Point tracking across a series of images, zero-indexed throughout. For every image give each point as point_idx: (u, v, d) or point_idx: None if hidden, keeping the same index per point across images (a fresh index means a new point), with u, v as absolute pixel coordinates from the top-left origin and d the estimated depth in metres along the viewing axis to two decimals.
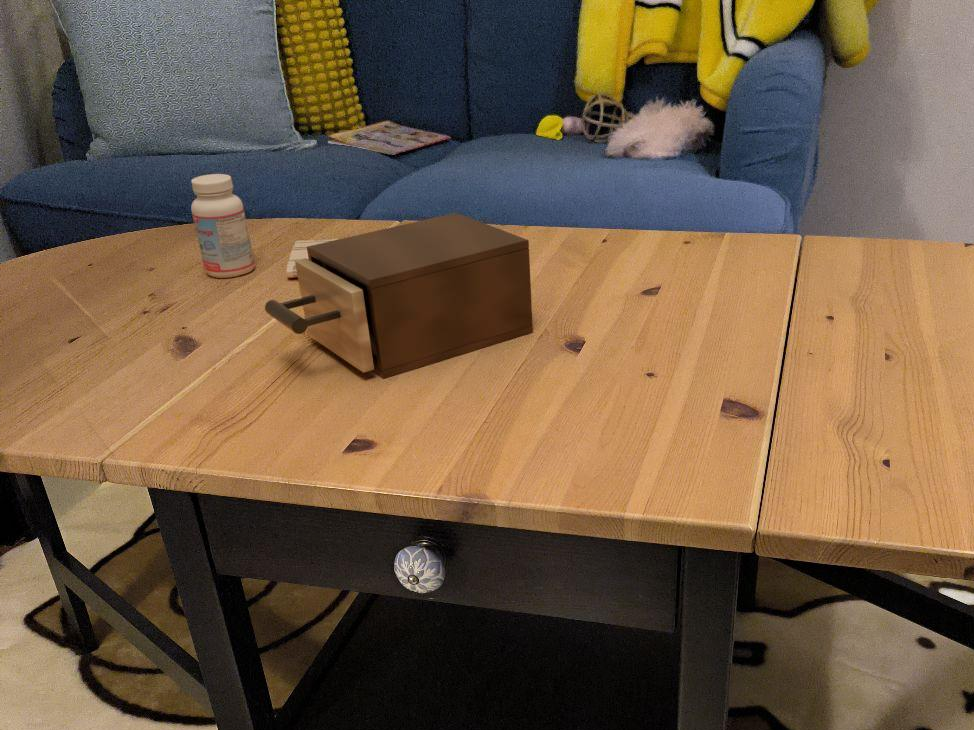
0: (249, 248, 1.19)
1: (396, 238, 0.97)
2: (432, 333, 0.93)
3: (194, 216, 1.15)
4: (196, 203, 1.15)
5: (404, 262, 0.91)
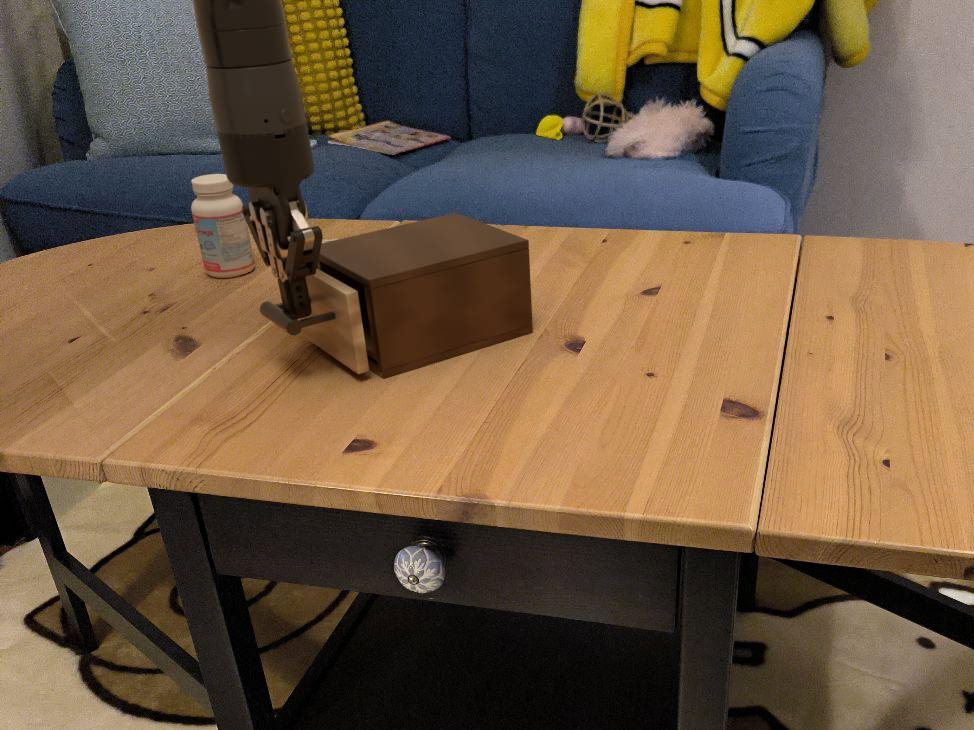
0: (249, 248, 1.19)
1: (396, 238, 0.97)
2: (432, 333, 0.93)
3: (194, 216, 1.15)
4: (196, 203, 1.15)
5: (404, 262, 0.91)
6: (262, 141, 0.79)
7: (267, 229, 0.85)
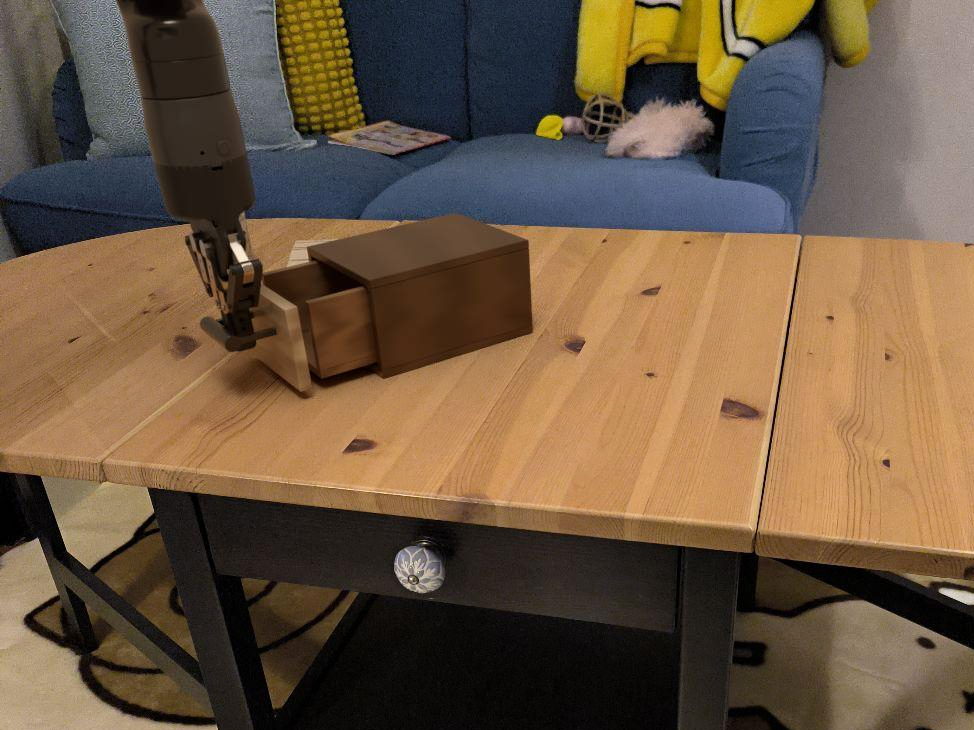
0: None
1: (396, 238, 0.97)
2: (432, 333, 0.93)
3: None
4: None
5: (404, 262, 0.91)
6: (199, 173, 0.78)
7: (207, 261, 0.83)
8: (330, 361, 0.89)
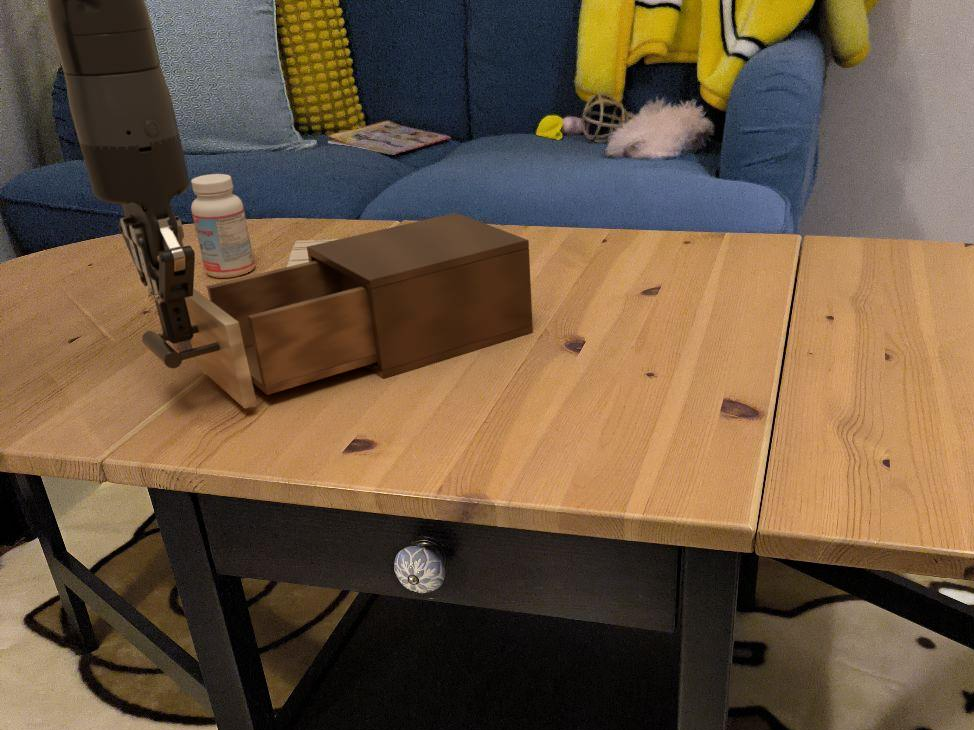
0: (249, 248, 1.19)
1: (396, 238, 0.97)
2: (432, 333, 0.93)
3: (194, 216, 1.15)
4: (196, 203, 1.15)
5: (404, 262, 0.91)
6: (125, 154, 0.74)
7: (138, 247, 0.80)
8: (276, 377, 0.87)
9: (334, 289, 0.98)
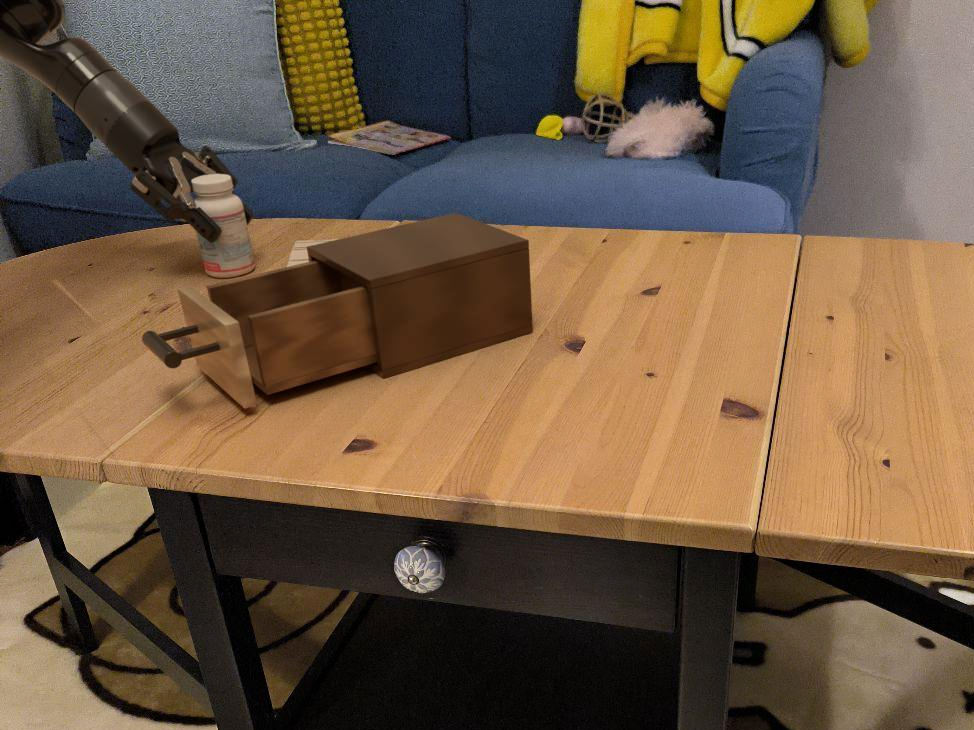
0: (249, 248, 1.19)
1: (396, 238, 0.97)
2: (432, 333, 0.93)
3: None
4: (196, 203, 1.15)
5: (404, 262, 0.91)
6: None
7: (197, 164, 1.16)
8: (276, 377, 0.87)
9: (334, 289, 0.98)
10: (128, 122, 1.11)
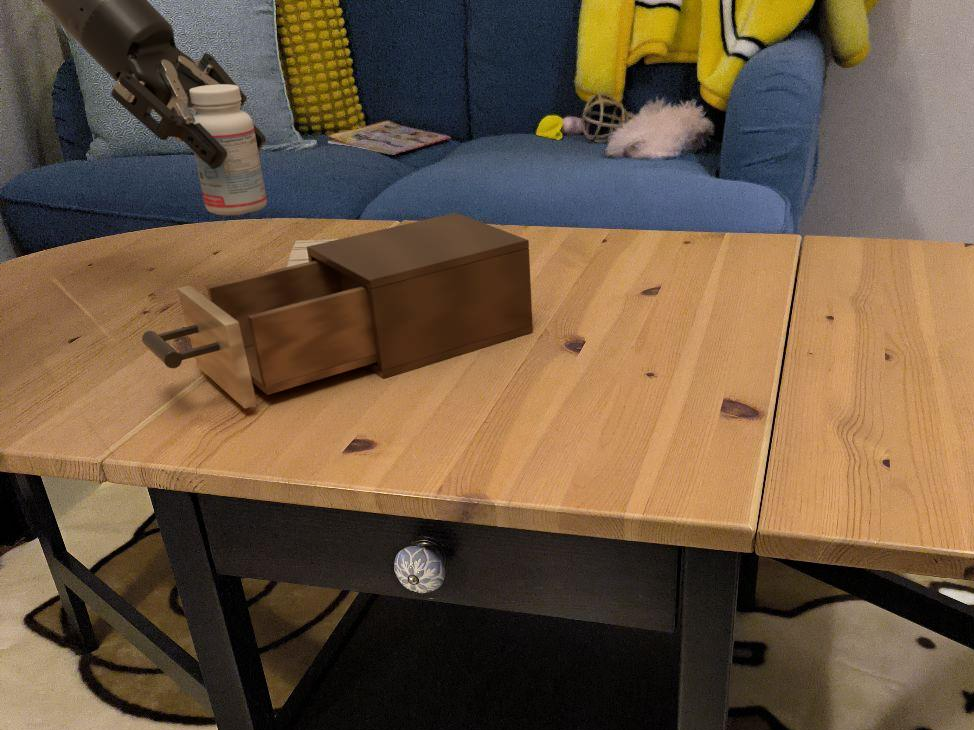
0: (260, 179, 0.96)
1: (396, 238, 0.97)
2: (432, 333, 0.93)
3: None
4: (195, 119, 0.92)
5: (404, 262, 0.91)
6: None
7: (196, 72, 0.93)
8: (276, 377, 0.87)
9: (334, 289, 0.98)
10: (110, 12, 0.88)
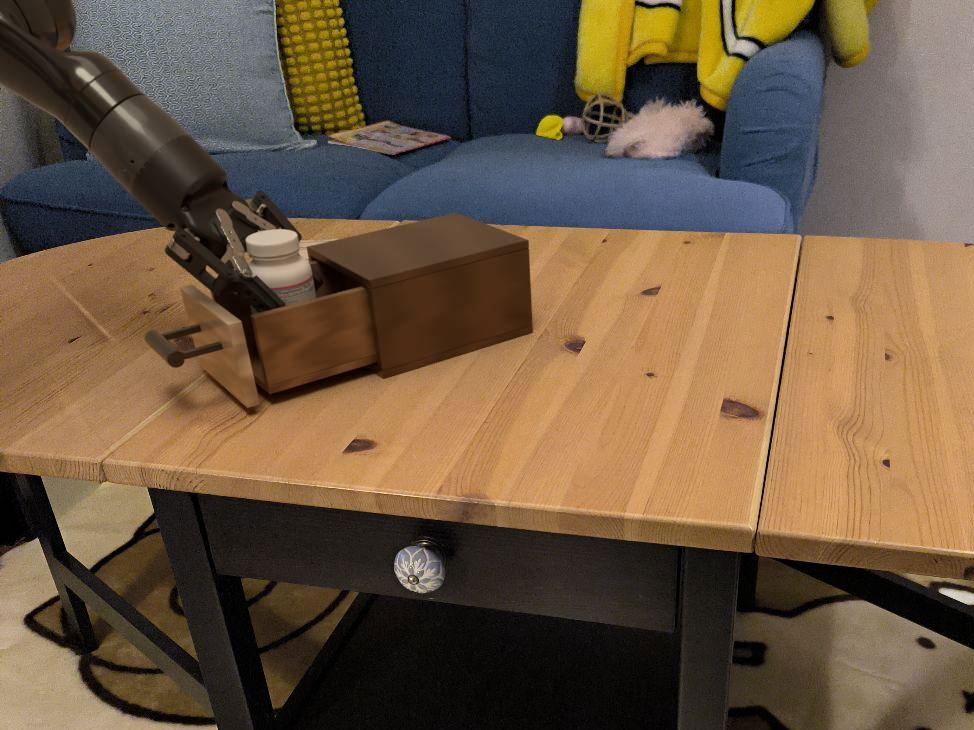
0: None
1: (396, 238, 0.97)
2: (432, 333, 0.93)
3: None
4: (251, 270, 0.87)
5: (404, 262, 0.91)
6: None
7: (251, 217, 0.88)
8: (278, 376, 0.87)
9: (336, 288, 0.98)
10: (162, 164, 0.83)
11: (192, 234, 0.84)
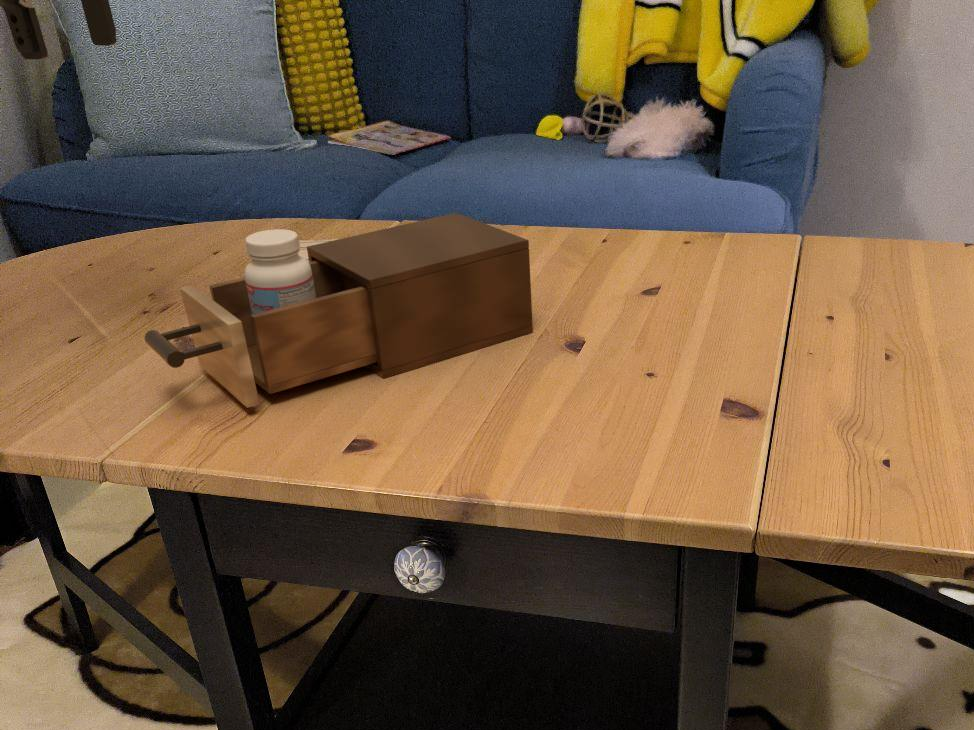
0: None
1: (396, 238, 0.97)
2: (432, 333, 0.93)
3: (249, 286, 0.87)
4: (251, 270, 0.87)
5: (404, 262, 0.91)
6: None
7: None
8: (278, 376, 0.87)
9: (336, 288, 0.98)
10: None
11: None
